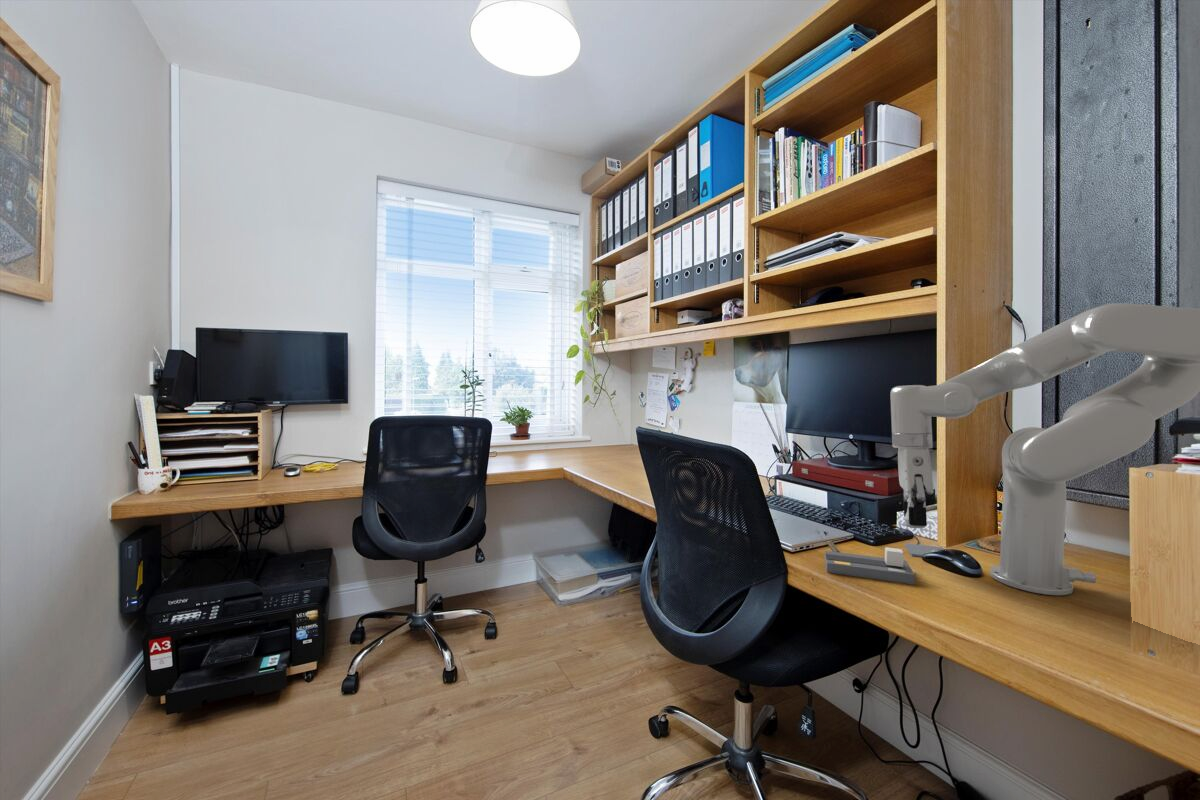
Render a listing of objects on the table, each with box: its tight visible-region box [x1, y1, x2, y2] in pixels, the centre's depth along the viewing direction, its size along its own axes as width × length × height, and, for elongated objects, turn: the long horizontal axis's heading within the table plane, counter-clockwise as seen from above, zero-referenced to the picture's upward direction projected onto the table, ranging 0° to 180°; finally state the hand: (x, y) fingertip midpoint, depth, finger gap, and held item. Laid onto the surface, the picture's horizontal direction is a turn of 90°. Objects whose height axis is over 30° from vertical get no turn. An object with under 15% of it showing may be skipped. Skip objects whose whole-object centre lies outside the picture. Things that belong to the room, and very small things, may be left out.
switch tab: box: [884, 546, 905, 567], centre depth 101 cm, size 3×2×3 cm
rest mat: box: [904, 542, 945, 558], centre depth 114 cm, size 8×8×1 cm
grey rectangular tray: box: [824, 550, 916, 585], centre depth 103 cm, size 16×8×2 cm, turn 68°
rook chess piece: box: [903, 490, 928, 529], centre depth 107 cm, size 4×4×8 cm
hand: (915, 521), depth 107 cm, fingers closed on rook chess piece, 4 cm apart
